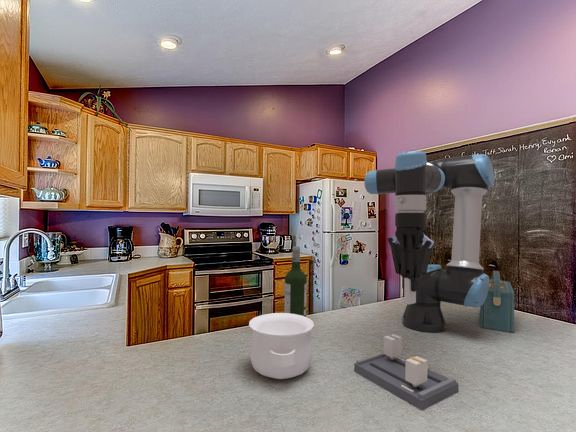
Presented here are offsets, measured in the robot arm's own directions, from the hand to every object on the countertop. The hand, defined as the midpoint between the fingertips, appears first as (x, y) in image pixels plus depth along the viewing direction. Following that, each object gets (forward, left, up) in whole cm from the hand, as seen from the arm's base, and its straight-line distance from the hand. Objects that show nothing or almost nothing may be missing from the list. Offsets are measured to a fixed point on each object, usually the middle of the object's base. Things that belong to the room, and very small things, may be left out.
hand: (410, 302), depth 82 cm
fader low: (+7, -7, -16) cm, 19 cm away
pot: (-20, -27, -19) cm, 38 cm away
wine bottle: (-43, -7, -19) cm, 47 cm away
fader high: (-5, 0, -16) cm, 17 cm away
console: (+1, -4, -19) cm, 19 cm away
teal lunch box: (-10, +68, -19) cm, 71 cm away
